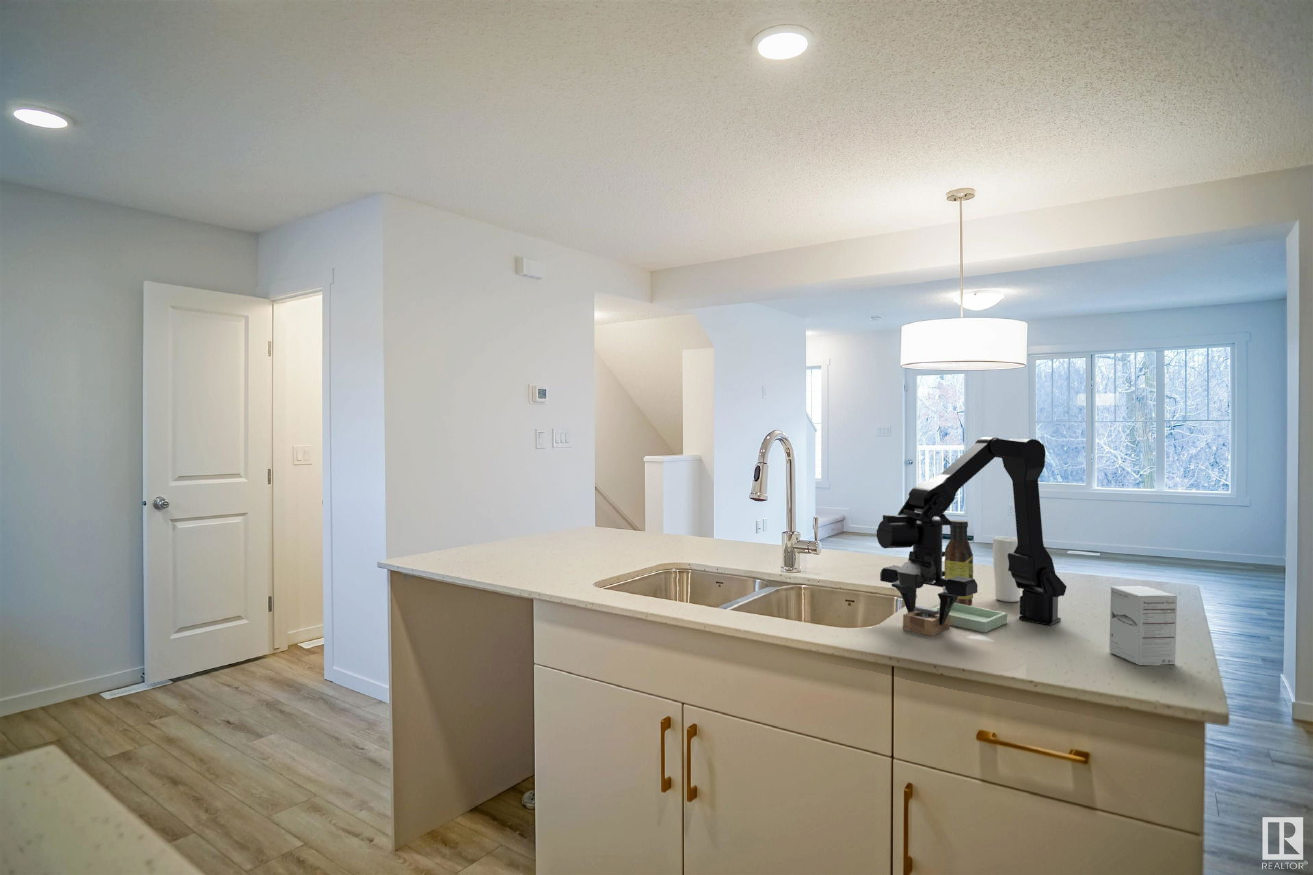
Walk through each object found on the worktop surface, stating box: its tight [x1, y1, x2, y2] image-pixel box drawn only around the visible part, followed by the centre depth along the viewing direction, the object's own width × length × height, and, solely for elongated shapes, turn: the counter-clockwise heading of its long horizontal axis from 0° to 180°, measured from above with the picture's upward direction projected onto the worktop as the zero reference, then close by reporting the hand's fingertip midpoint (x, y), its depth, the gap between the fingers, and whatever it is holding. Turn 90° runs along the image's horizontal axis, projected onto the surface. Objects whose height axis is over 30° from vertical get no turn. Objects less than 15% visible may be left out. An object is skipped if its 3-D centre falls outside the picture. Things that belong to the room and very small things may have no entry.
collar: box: [902, 611, 951, 637], centre depth 145 cm, size 8×6×3 cm
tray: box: [932, 603, 1008, 633], centre depth 151 cm, size 12×11×2 cm
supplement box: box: [1108, 585, 1178, 666], centre depth 127 cm, size 7×7×13 cm
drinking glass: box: [992, 536, 1021, 603], centre depth 170 cm, size 7×7×15 cm
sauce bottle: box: [944, 519, 974, 606], centre depth 165 cm, size 7×6×20 cm
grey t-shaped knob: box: [914, 605, 939, 618], centre depth 145 cm, size 5×2×4 cm, turn 41°
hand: (926, 621), depth 145 cm, fingers closed on collar, 6 cm apart
